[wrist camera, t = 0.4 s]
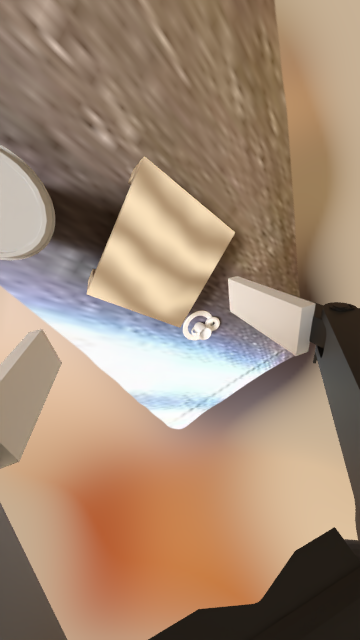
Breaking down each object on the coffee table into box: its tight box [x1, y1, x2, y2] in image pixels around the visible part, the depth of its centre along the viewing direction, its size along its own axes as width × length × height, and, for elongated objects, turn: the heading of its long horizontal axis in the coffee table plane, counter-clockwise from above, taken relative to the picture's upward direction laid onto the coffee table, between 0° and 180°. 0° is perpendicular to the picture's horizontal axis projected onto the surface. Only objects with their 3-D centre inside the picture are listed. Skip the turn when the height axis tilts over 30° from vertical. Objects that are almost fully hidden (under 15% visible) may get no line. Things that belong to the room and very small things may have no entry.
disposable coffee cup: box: [0, 145, 55, 260], centre depth 21 cm, size 10×10×12 cm
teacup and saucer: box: [183, 311, 220, 340], centre depth 45 cm, size 9×8×4 cm
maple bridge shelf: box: [87, 156, 235, 327], centre depth 31 cm, size 18×16×8 cm
